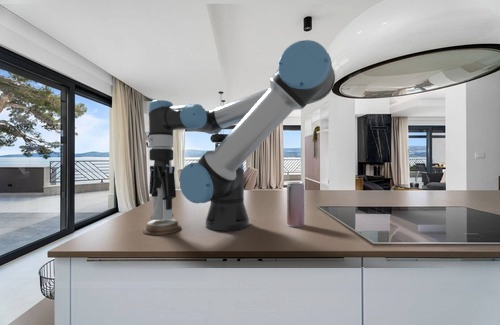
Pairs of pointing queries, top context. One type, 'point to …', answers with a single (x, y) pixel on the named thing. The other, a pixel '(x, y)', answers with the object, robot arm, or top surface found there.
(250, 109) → the robot arm
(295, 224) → the beverage can
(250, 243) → the top surface
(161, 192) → the flask
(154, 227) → the pedestal
